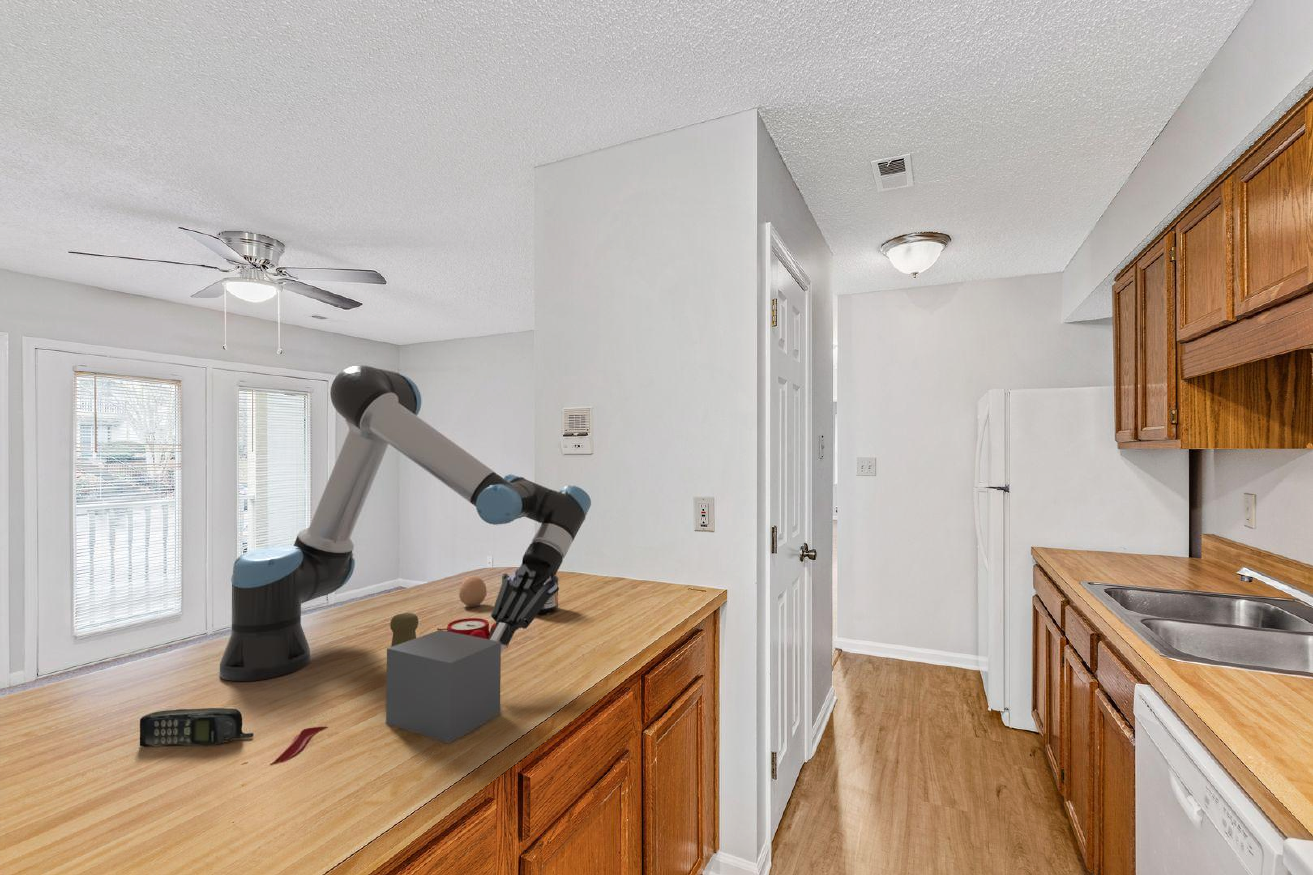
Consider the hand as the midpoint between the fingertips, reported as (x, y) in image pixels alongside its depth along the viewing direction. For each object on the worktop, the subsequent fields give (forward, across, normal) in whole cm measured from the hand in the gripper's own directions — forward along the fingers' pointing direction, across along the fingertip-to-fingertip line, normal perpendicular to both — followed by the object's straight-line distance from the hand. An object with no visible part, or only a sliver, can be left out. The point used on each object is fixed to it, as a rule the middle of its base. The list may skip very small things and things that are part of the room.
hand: (488, 659), depth 105 cm
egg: (-25, +46, -35) cm, 63 cm away
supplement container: (-29, +27, -39) cm, 56 cm away
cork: (+4, +24, -6) cm, 25 cm away
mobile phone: (+28, +27, +18) cm, 43 cm away
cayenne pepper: (+24, +13, +13) cm, 30 cm away
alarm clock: (-10, +24, -20) cm, 32 cm away
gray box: (+11, 0, +2) cm, 11 cm away
